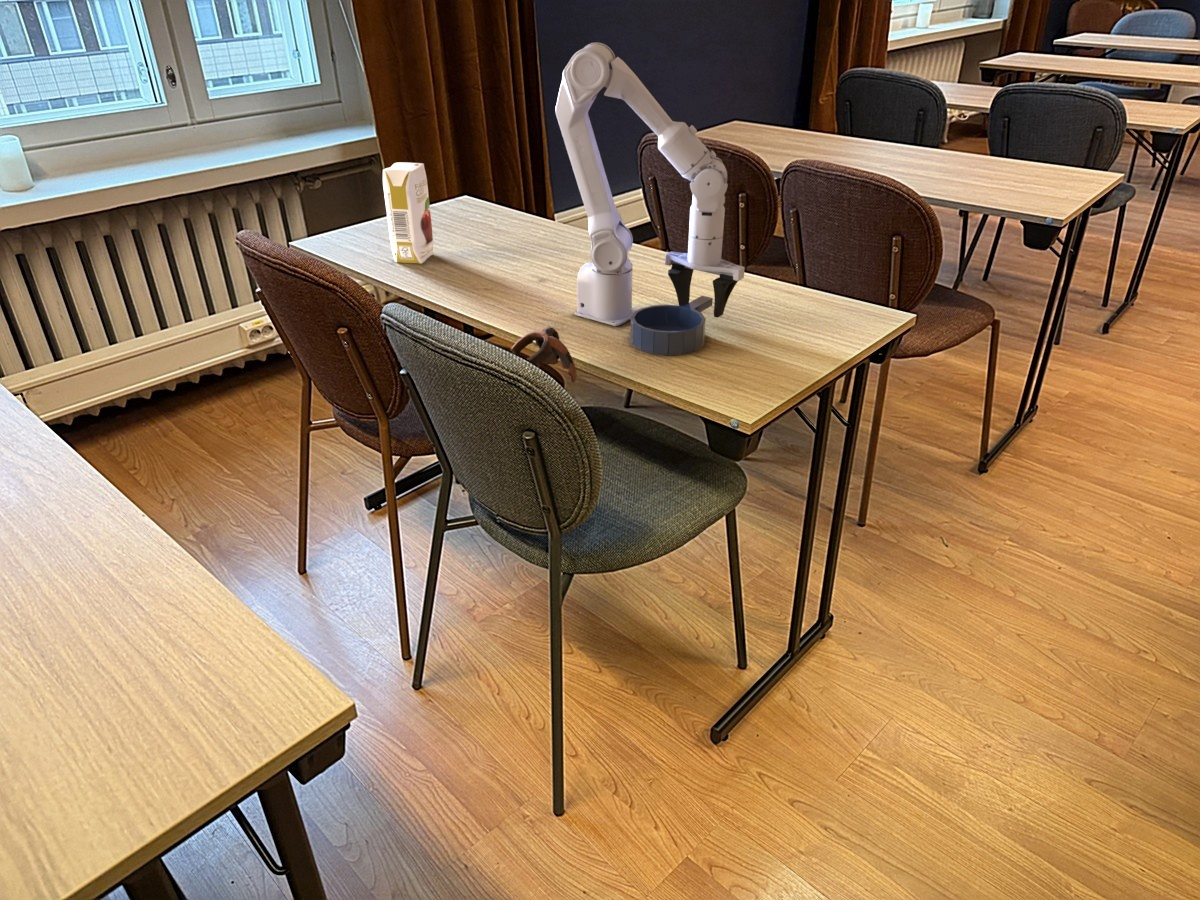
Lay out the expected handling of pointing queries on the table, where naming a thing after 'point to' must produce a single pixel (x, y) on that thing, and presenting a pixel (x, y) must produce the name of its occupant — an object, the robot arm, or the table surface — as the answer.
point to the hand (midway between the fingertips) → (701, 311)
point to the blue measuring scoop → (670, 327)
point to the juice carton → (408, 212)
